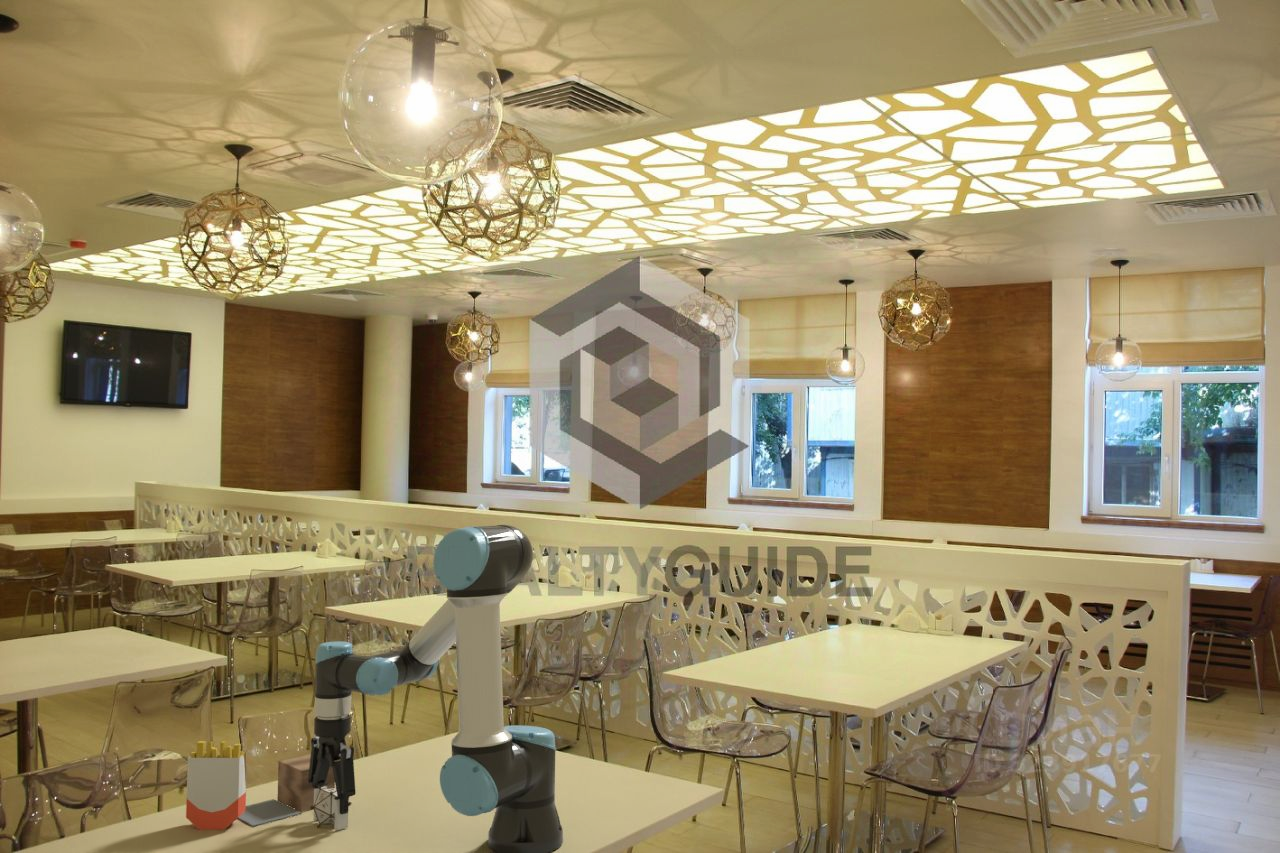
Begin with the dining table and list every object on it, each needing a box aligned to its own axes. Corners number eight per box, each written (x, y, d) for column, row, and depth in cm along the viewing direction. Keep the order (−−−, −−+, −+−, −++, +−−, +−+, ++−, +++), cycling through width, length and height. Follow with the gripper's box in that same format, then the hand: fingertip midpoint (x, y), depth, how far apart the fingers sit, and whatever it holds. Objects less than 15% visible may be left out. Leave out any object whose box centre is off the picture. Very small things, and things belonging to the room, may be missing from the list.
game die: (334, 845, 206) (335, 816, 200) (300, 827, 207) (300, 798, 202) (359, 812, 213) (361, 783, 208) (326, 795, 215) (327, 767, 209)
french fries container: (195, 821, 209) (197, 736, 210) (245, 821, 209) (248, 736, 210) (185, 829, 204) (187, 742, 205) (237, 829, 204) (239, 742, 205)
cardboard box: (334, 803, 221) (335, 763, 221) (301, 812, 215) (302, 771, 215) (309, 792, 228) (310, 753, 229) (277, 800, 222) (278, 760, 223)
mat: (301, 813, 214) (301, 812, 214) (253, 826, 206) (253, 825, 206) (273, 800, 223) (273, 799, 223) (225, 812, 214) (225, 810, 214)
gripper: (374, 720, 204) (372, 831, 203) (323, 704, 218) (321, 807, 217) (342, 727, 199) (340, 840, 198) (292, 710, 213) (289, 816, 212)
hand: (330, 823), depth 207 cm, fingers closed on game die, 8 cm apart
